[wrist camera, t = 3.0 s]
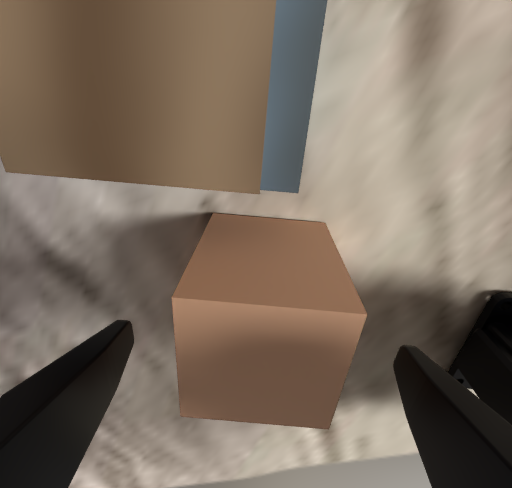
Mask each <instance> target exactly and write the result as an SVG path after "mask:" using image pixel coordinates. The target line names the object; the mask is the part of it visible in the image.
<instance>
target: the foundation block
mask: <svg viewBox="0 0 512 488" xmlns="http://www.w3.org/2000/svg"><path fill="white" fill-rule="evenodd" d="M326 6H327V0H0V156H1V159H2V162H3V165H4V168H5V171H6V172H11V173H22V174H33V175H45V176H56V177H68V178H79V179H91V180H102V181H114V182H125V183H137V184H148V185H160V186H171V187H182V188H194V189H205V190H217V191H228V192H240V193H251V194H260V190H267V191H279V192H290V193H298V192H299V185H300V178H301V172H302V165H303V158H304V152H305V145H306V139H307V132H308V125H309V119H310V112H311V105H312V99H313V92H314V85H315V79H316V72H317V65H318V59H319V52H320V45H321V39H322V32H323V25H324V19H325V12H326Z"/></svg>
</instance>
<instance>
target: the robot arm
mask: <svg viewBox="0 0 512 488" xmlns="http://www.w3.org/2000/svg"><path fill="white" fill-rule="evenodd" d="M133 344H134V335H133V329H132V324H131V322H130V321H128V320H117V321H115V322H113V323H112V324H110V325H109V326H107V327H106V328H104V329H103V330H101V331H100V332H98V333H97V334H95V335H93V336H92V337H90V338H89V339H87V340H86V341H84V342H83V343H81V344H80V345H78V346H77V347H75V348H74V349H72V350H71V351H69V352H67V353H66V354H64V355H63V356H61V357H60V358H58V359H57V360H55V361H54V362H52V363H51V364H49V365H48V366H46V367H45V368H43V369H42V370H40V371H38V372H37V373H35V374H34V375H32V376H31V377H29V378H28V379H26V380H25V381H23V382H22V383H20V384H19V385H17V386H16V387H14V388H12V389H11V390H9V391H8V392H6V393H5V394H3V395H2V396H1V398H0V488H68V487H69V485H70V483H71V481H72V479H73V477H74V475H75V473H76V471H77V469H78V467H79V465H80V463H81V461H82V459H83V457H84V455H85V453H86V451H87V449H88V447H89V445H90V443H91V441H92V439H93V437H94V435H95V433H96V431H97V429H98V427H99V425H100V423H101V421H102V419H103V417H104V414H105V412H106V410H107V408H108V406H109V404H110V402H111V400H112V398H113V396H114V394H115V392H116V390H117V387H118V385H119V382H120V380H121V377H122V374H123V372H124V369H125V366H126V363H127V361H128V358H129V355H130V353H131V350H132V347H133ZM393 367H394V372H395V376H396V380H397V384H398V388H399V392H400V396H401V399H402V403H403V407H404V411H405V414H406V418H407V420H408V423H409V426H410V429H411V432H412V434H413V437H414V440H415V443H416V445H417V448H418V451H419V454H420V456H421V459H422V462H423V464H424V467H425V470H426V473H427V475H428V478H429V481H430V483H431V486H432V488H512V293H505V292H504V293H498V294H496V295H494V296H493V297H492V298H491V299H490V300H489V302H488V304H487V305H486V307H485V309H484V311H483V312H482V314H481V316H480V318H479V319H478V321H477V323H476V325H475V326H474V328H473V330H472V332H471V333H470V335H469V337H468V338H467V340H466V342H465V344H464V345H463V347H462V349H461V351H460V352H459V354H458V356H457V358H456V359H455V361H454V363H453V365H452V366H451V368H450V370H449V372H448V373H447V372H446V371H445V370H444V369H442V368H441V367H440V366H439V365H438V364H436V363H435V362H434V361H433V360H431V359H430V358H429V357H428V356H427V355H425V354H424V353H423V352H422V351H420V350H419V349H418V348H417V347H415V346H408V345H402V346H401V347H400V349H399V351H398V353H397V356H396V358H395V360H394V364H393ZM467 388H468V389H473V390H474V392H475V393H476V394H477V396H478V397H479V398H478V397H477V396H475V395H474V394H473V393H472V392H470V391H469V390H468V389H467Z"/></svg>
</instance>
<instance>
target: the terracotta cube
mask: <svg viewBox="0 0 512 488" xmlns="http://www.w3.org/2000/svg"><path fill="white" fill-rule="evenodd" d="M172 309H173V322H174V335H175V349H176V362H177V376H178V389H179V402H180V416H181V417H192V418H203V419H215V420H226V421H238V422H250V423H261V424H273V425H284V426H296V427H307V428H319V429H329V428H330V425H331V422H332V419H333V416H334V413H335V410H336V407H337V404H338V401H339V398H340V395H341V392H342V389H343V386H344V383H345V380H346V377H347V374H348V371H349V368H350V365H351V362H352V359H353V356H354V353H355V350H356V347H357V344H358V341H359V338H360V335H361V332H362V329H363V326H364V323H365V320H366V317H367V313H366V310H365V308H364V306H363V304H362V302H361V300H360V297H359V295H358V293H357V291H356V289H355V287H354V284H353V282H352V280H351V278H350V276H349V274H348V271H347V269H346V267H345V265H344V263H343V261H342V258H341V256H340V254H339V252H338V250H337V248H336V245H335V243H334V241H333V239H332V237H331V235H330V232H329V230H328V228H327V226H326V224H325V223H321V222H309V221H298V220H286V219H275V218H263V217H252V216H240V215H229V214H217V213H213V214H212V216H211V218H210V220H209V222H208V224H207V226H206V228H205V230H204V232H203V235H202V237H201V239H200V241H199V243H198V245H197V247H196V249H195V251H194V253H193V255H192V257H191V259H190V261H189V263H188V265H187V267H186V269H185V271H184V273H183V275H182V277H181V279H180V281H179V283H178V286H177V288H176V290H175V292H174V294H173V296H172Z"/></svg>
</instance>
